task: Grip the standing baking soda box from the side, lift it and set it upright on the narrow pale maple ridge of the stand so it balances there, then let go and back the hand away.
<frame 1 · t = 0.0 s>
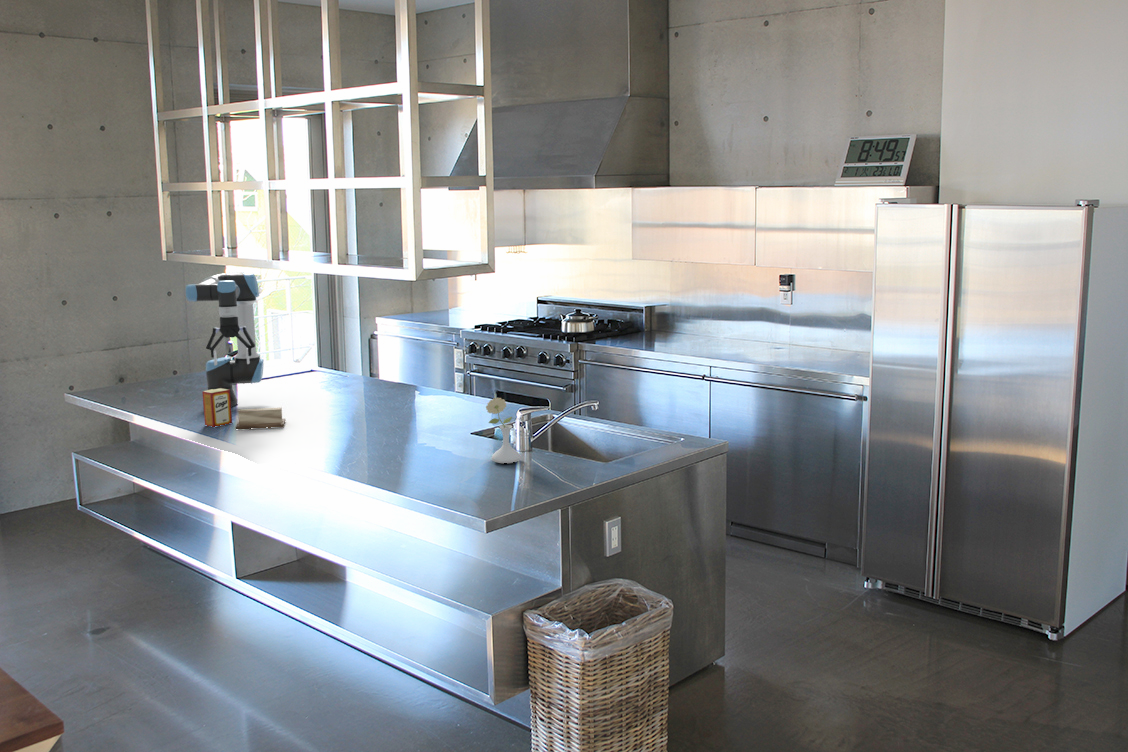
hand: (232, 364, 413), 28 cm above the countertop, tool pointing down, fingers open, 13 cm apart
ridge stand: (261, 425, 418), on the countertop
baking soda box: (218, 425, 421), on the countertop
flower in vase: (504, 462, 356), on the countertop
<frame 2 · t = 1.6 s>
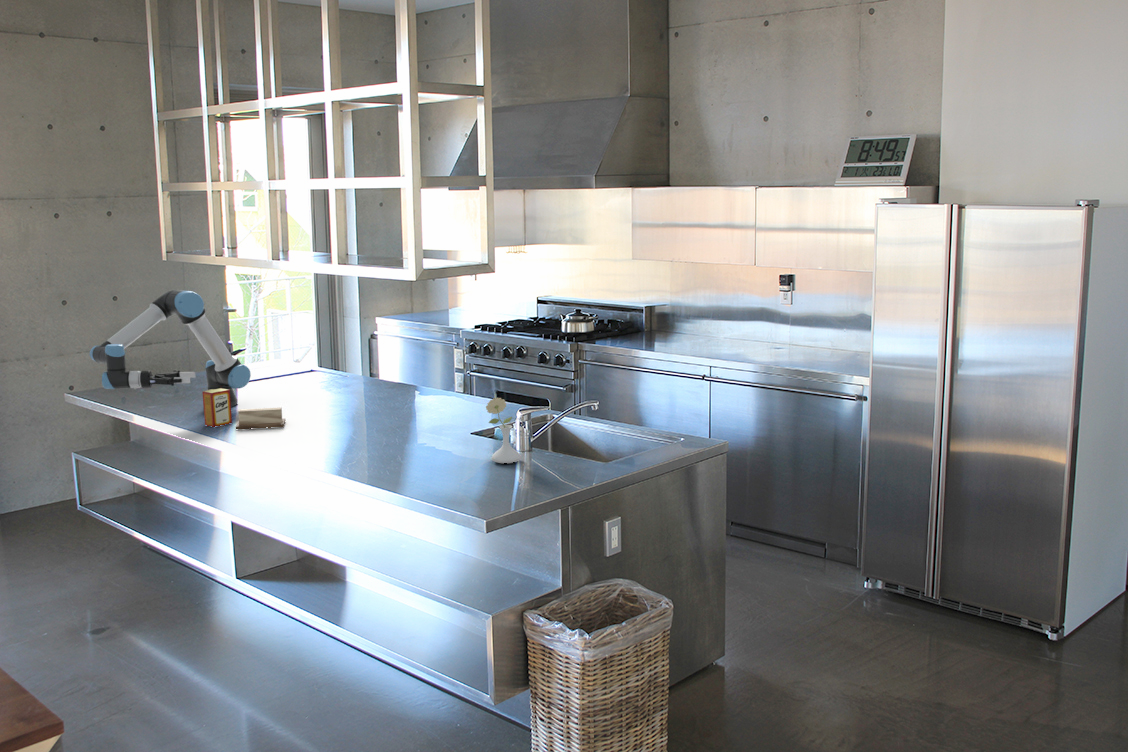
hand: (192, 377, 415), 22 cm above the countertop, tool horizontal, fingers open, 13 cm apart
nothing on the countertop moved.
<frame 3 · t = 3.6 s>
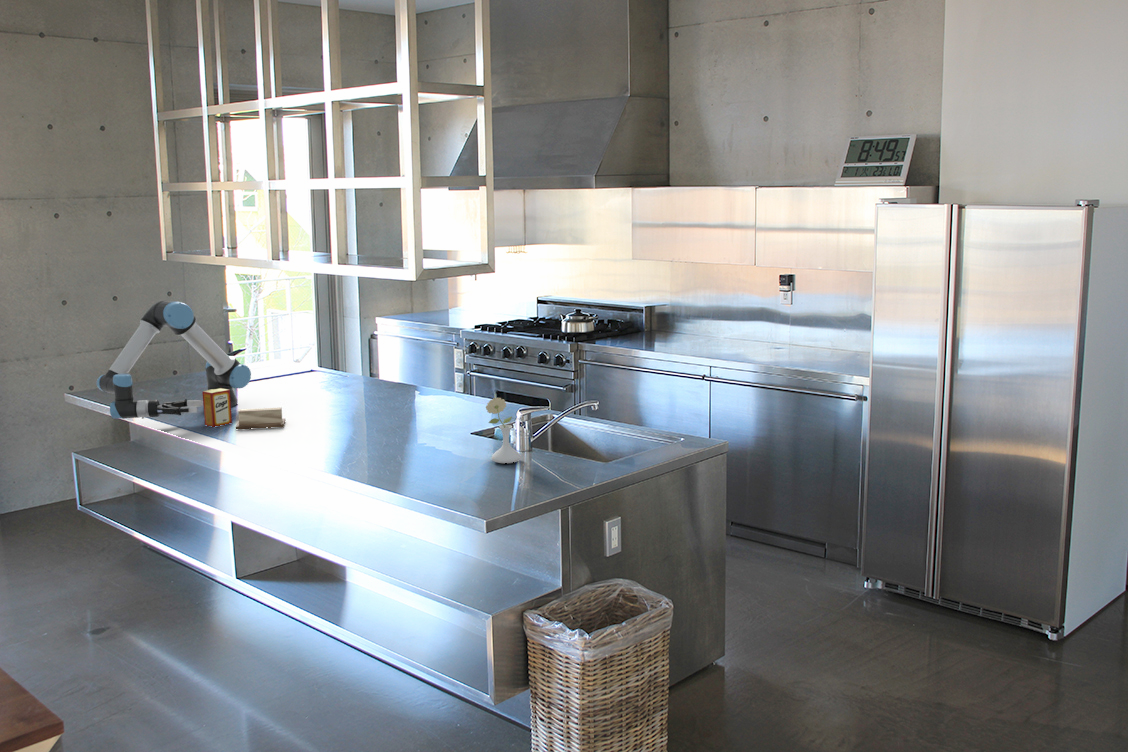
hand: (199, 406, 418), 9 cm above the countertop, tool horizontal, fingers open, 13 cm apart
nothing on the countertop moved.
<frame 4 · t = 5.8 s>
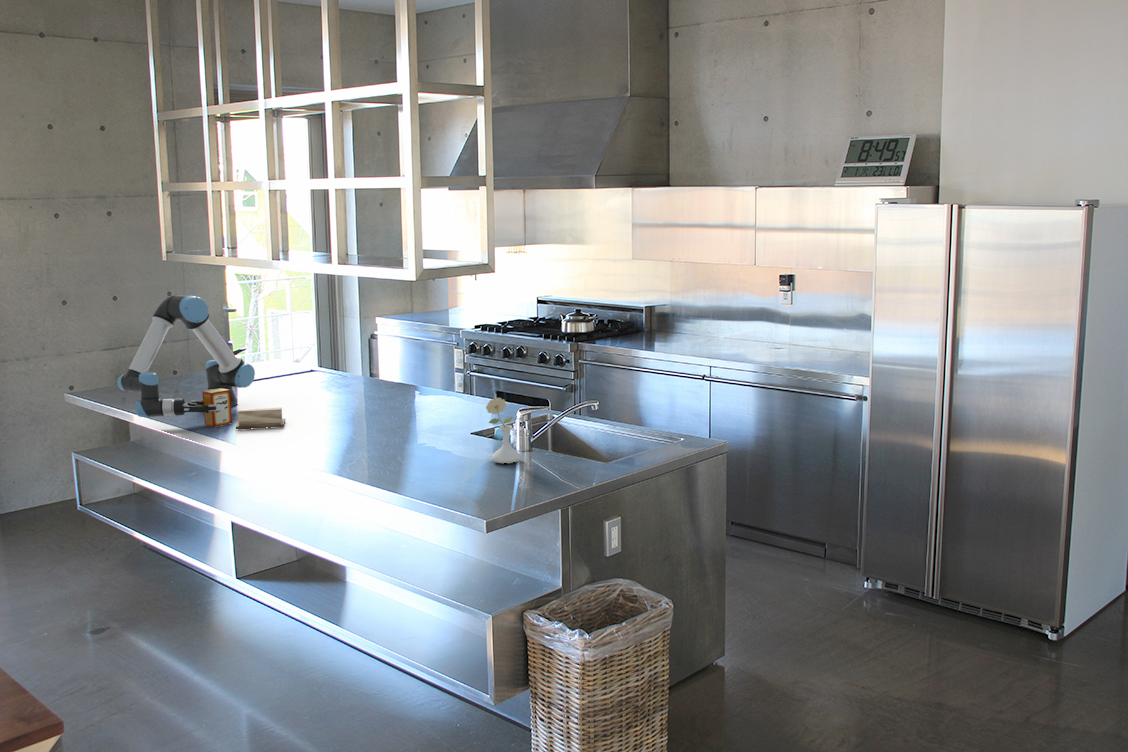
hand: (226, 404, 420), 9 cm above the countertop, tool horizontal, fingers closed on baking soda box, 11 cm apart
baking soda box: (218, 425, 421), on the countertop, touching gripper
everything else where it was.
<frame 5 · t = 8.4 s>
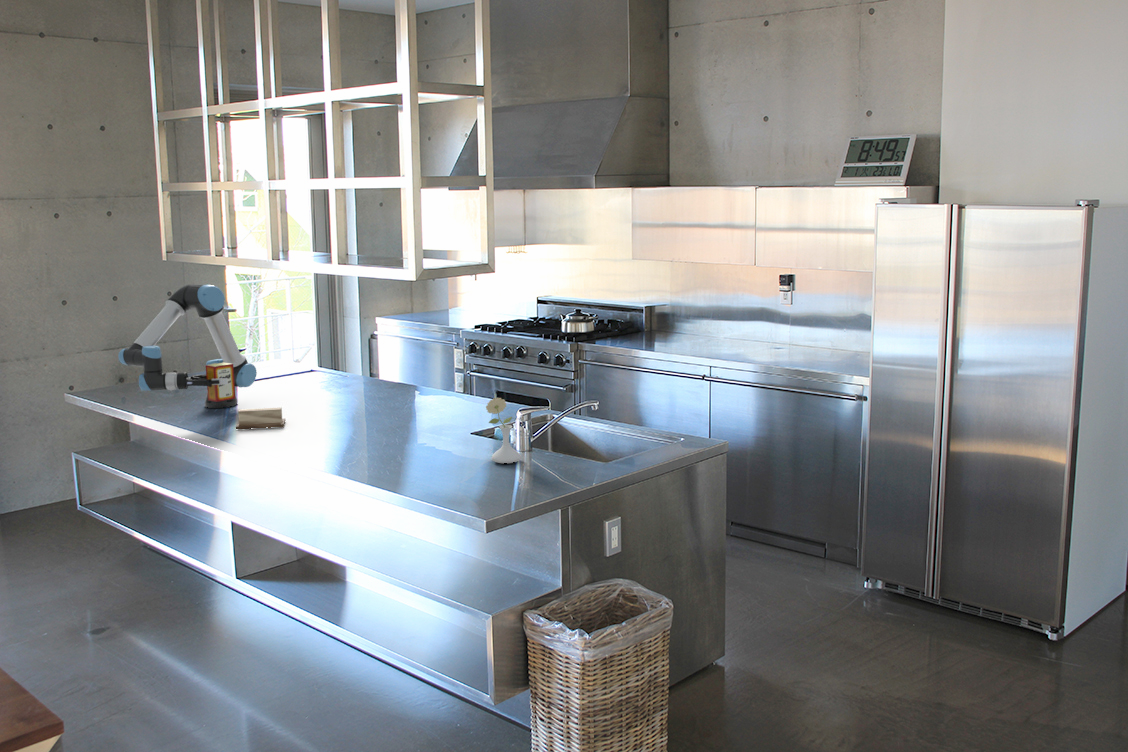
hand: (229, 378, 417), 21 cm above the countertop, tool horizontal, fingers closed on baking soda box, 11 cm apart
baking soda box: (221, 399, 418), point 12 cm above the countertop, touching gripper
everything else where it was.
when the fingers open (18 cm above the countertop, at t = 11.0 s): baking soda box drops 1 cm, resting on ridge stand.
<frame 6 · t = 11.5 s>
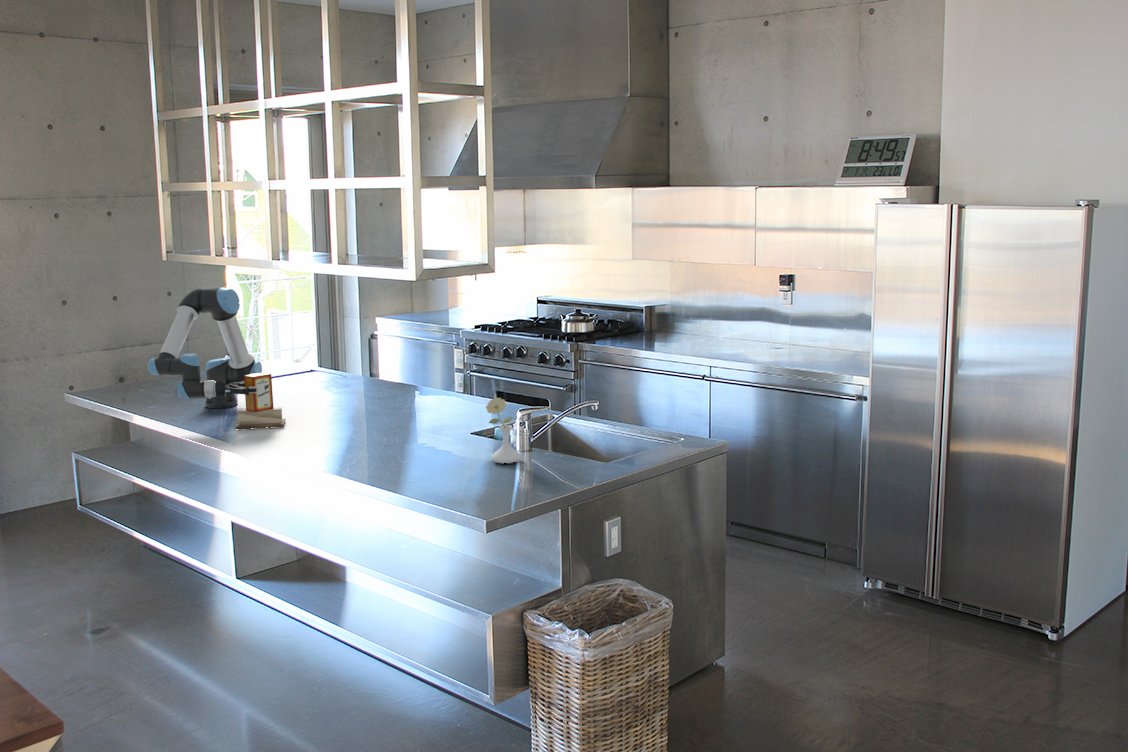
hand: (266, 386, 416), 18 cm above the countertop, tool horizontal, fingers open, 13 cm apart
baking soda box: (259, 409, 417), point 7 cm above the countertop, touching ridge stand
everything else where it was.
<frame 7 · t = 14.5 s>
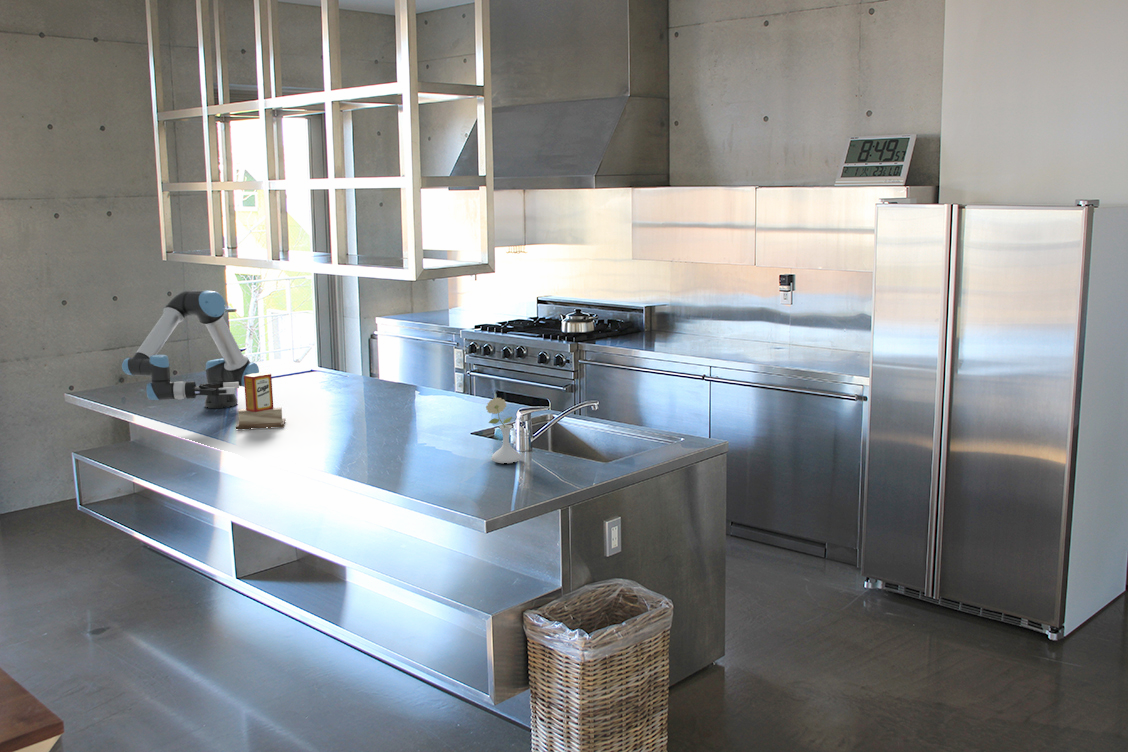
hand: (236, 387, 413), 18 cm above the countertop, tool horizontal, fingers open, 13 cm apart
nothing on the countertop moved.
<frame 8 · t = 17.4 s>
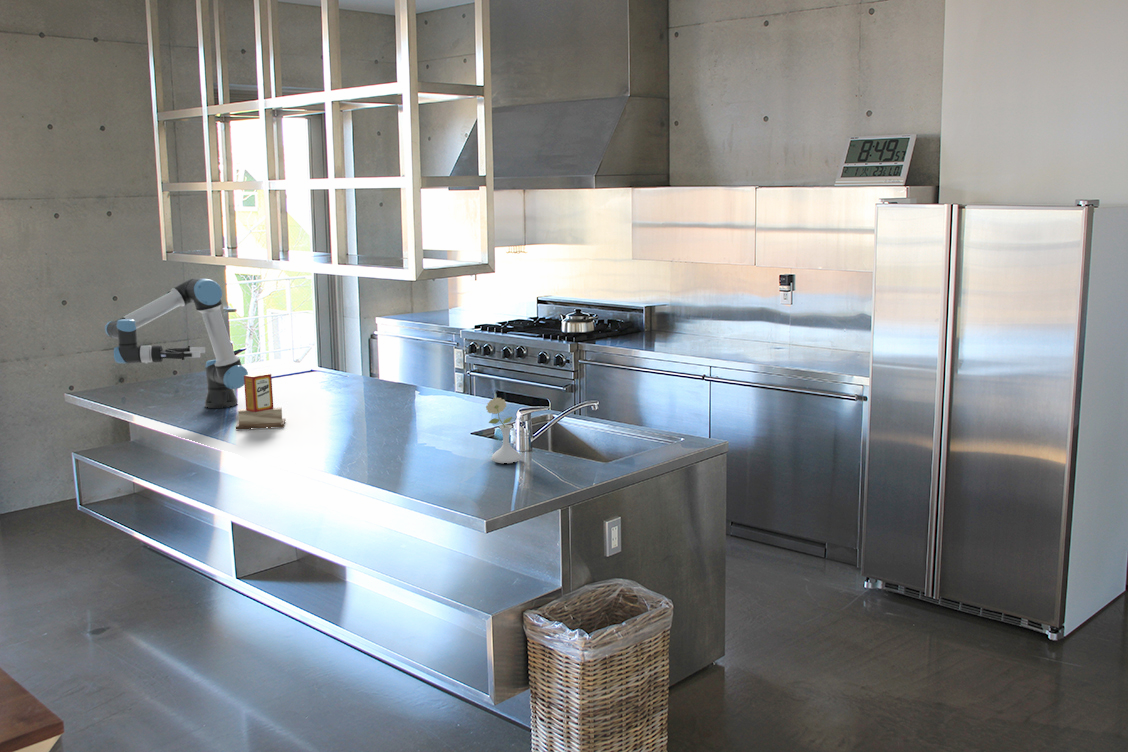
hand: (202, 352, 422), 32 cm above the countertop, tool horizontal, fingers open, 13 cm apart
nothing on the countertop moved.
at the end: baking soda box inside the target area on the ridge stand (0.1 cm from its centre), point 7.3 cm above the ridge stand's base; baking soda box tilted 0°; the gripper is holding nothing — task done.
